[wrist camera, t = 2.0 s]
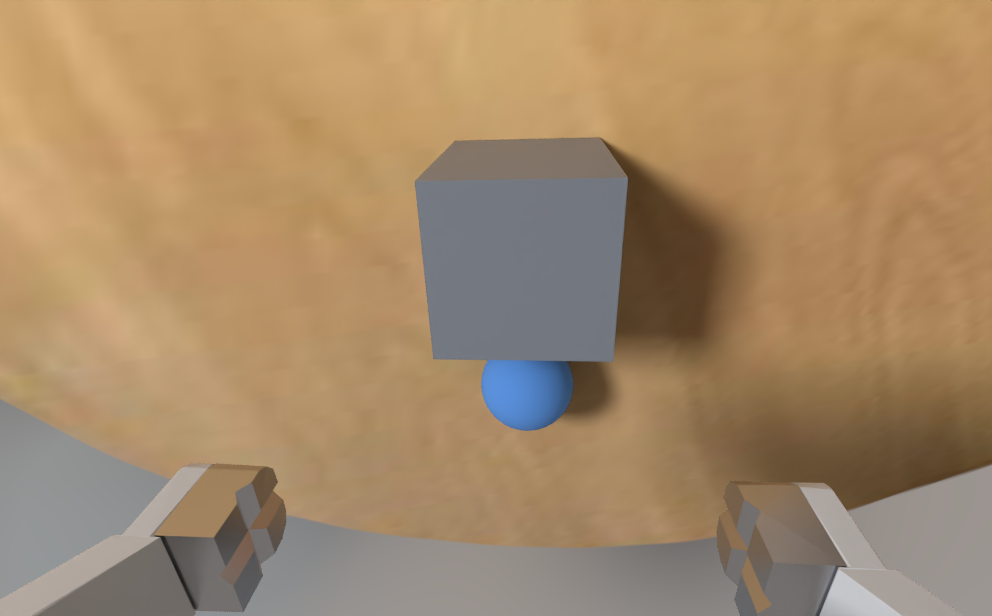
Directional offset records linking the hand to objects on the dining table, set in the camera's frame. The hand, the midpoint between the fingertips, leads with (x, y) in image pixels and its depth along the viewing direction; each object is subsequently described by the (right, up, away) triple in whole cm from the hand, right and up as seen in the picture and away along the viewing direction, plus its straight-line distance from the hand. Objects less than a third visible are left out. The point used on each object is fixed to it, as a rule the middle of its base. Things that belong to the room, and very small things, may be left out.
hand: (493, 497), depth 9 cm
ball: (+2, -1, +19) cm, 19 cm away
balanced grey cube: (+2, +8, +17) cm, 19 cm away
